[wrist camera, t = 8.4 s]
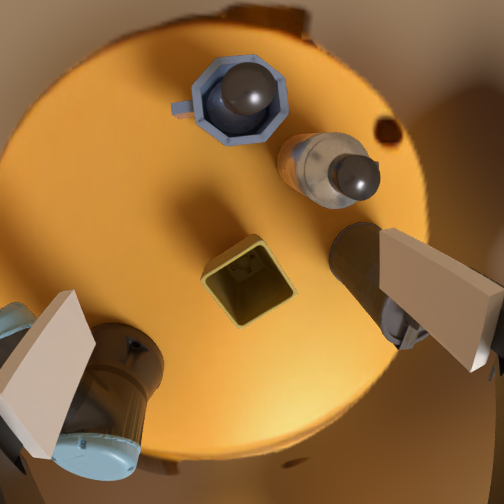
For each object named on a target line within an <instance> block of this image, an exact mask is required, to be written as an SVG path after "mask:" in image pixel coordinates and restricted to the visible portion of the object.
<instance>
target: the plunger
mask: <svg viewBox="0 0 504 504" xmlns="http://www.w3.org/2000/svg"><path fill="white" fill-rule="evenodd" d="M275 93H276V82H275V79H274V77H273V75H272V73H271V72H270V71H269V70H268V69H267V68H266V67H264V66H262V65H261V64H258V63H254V62H243V63H239V64H237V65H235V66H233V67H232V68H230V69H229V70H228V71H227V73H226V74H225V76H224V78H223V81H222V82H220V83H219V84H217V85H216V86H215V87H214V88H213V90H212V91H211V93H210V94H209V97H208V101H207V111H208V115H209V117H210V119H211V121H212V122H213V124H214V125H215V126H216V127H218V128H219V129H221V130H222V131H225V132H228V133H234V134H238V133H244V132H247V131H249V130H251V129H253V128H254V127H256V126H257V125H258V124H259V123H260V121H261V120H262V118H263V116H264V114H265V109H266V107H267V106H268V105H269V104H270V103H271V102H272V100H273V99H274V96H275Z"/></svg>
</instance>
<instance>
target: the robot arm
mask: <svg viewBox="0 0 504 504" xmlns="http://www.w3.org/2000/svg"><path fill="white" fill-rule="evenodd" d="M379 233H380V285H379V288H380V289H381V290H382V291H383V292H384V293H386V294H387V295H388V296H389V297H390V298H391V299H392V300H394V301H395V302H396V303H397V304H398V305H399V306H400V307H401V308H402V309H404V310H405V311H406V312H407V313H408V314H409V315H410V316H411V317H412V318H413V319H415V320H416V321H417V322H418V323H419V324H420V325H421V326H422V327H423V328H424V329H425V330H427V331H428V332H429V333H430V334H431V335H432V336H433V337H434V338H435V339H436V340H437V341H438V342H439V343H440V344H441V345H442V346H444V347H445V348H446V349H447V350H448V351H449V352H450V353H451V354H452V355H453V356H454V357H455V358H456V359H457V360H458V361H459V362H460V363H461V364H462V365H463V366H464V367H465V368H466V369H467V370H468V371H469V372H472V371H474V370H476V369H477V368H479V367H481V366H483V365H485V364H486V362H487V358H488V356H489V352H490V349H492V350H493V351H494V352H496V353H497V355H496V358H495V361H494V364H493V367H492V370H491V373H490V375H489V379H488V381H491V379H492V377H493V375H494V374H495V387H496V429H495V448H494V449H495V450H494V461H493V471H492V479H491V486H490V493H489V500H488V504H504V287H503V286H502V285H500V284H498V283H497V282H495V281H493V280H492V279H489V278H488V277H487V276H485V275H481V273H480V272H478V271H476V270H474V269H473V268H470V267H467V266H465V265H463V264H462V263H460V262H458V261H456V260H454V259H452V258H451V257H449V256H447V255H445V254H443V253H442V252H440V251H438V250H436V249H434V248H432V247H430V246H428V245H427V244H425V243H423V242H421V241H419V240H417V239H415V238H413V237H411V236H409V235H407V234H405V233H403V232H401V231H399V230H397V229H395V228H391V229H385V230H380V231H379ZM163 371H164V360H163V356H162V354H161V352H160V350H159V348H158V347H157V345H156V344H155V343H154V342H153V341H152V340H151V339H150V338H149V337H148V336H147V335H145V334H144V333H142V332H141V331H139V330H137V329H135V328H133V327H130V326H127V325H123V324H117V323H107V324H101V325H98V326H96V327H94V328H92V329H91V330H90V329H89V326H88V324H87V322H86V319H85V317H84V314H83V312H82V309H81V306H80V304H79V301H78V299H77V296H76V293H75V290H74V289H72V290H67V291H62V292H59V293H58V294H57V296H56V297H55V298H54V299H53V300H52V302H51V303H50V304H49V305H48V307H47V308H46V309H45V310H44V312H43V313H42V314H41V315H40V317H39V318H37V317H36V316H35V315H34V314H33V313H32V312H31V311H30V310H29V309H28V308H27V307H26V306H25V305H24V304H22V303H19V302H13V303H10V304H8V305H6V306H5V307H3V308H2V309H0V504H45V502H44V500H43V498H42V496H41V493H40V491H39V489H38V487H37V485H36V483H35V481H34V478H33V476H32V474H31V471H30V469H29V467H28V464H27V462H26V460H25V458H24V457H23V456H22V455H21V453H20V451H21V449H22V446H24V447H25V448H26V449H27V451H28V452H29V453H30V454H31V455H32V456H33V457H36V458H45V459H51V458H52V459H53V460H54V462H56V463H57V464H58V465H59V466H61V467H62V468H64V469H66V470H68V471H70V472H72V473H74V474H77V475H79V476H82V477H86V478H90V479H96V480H104V481H108V480H109V481H112V480H119V479H123V478H125V477H128V476H129V475H130V474H132V473H133V471H134V470H135V468H136V464H137V460H138V456H139V454H140V452H141V439H142V432H143V425H144V419H145V412H146V406H147V402H148V400H149V399H150V397H151V396H152V395H153V393H154V392H155V390H156V389H157V388H158V387H159V385H160V383H161V381H162V377H163Z"/></svg>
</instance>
